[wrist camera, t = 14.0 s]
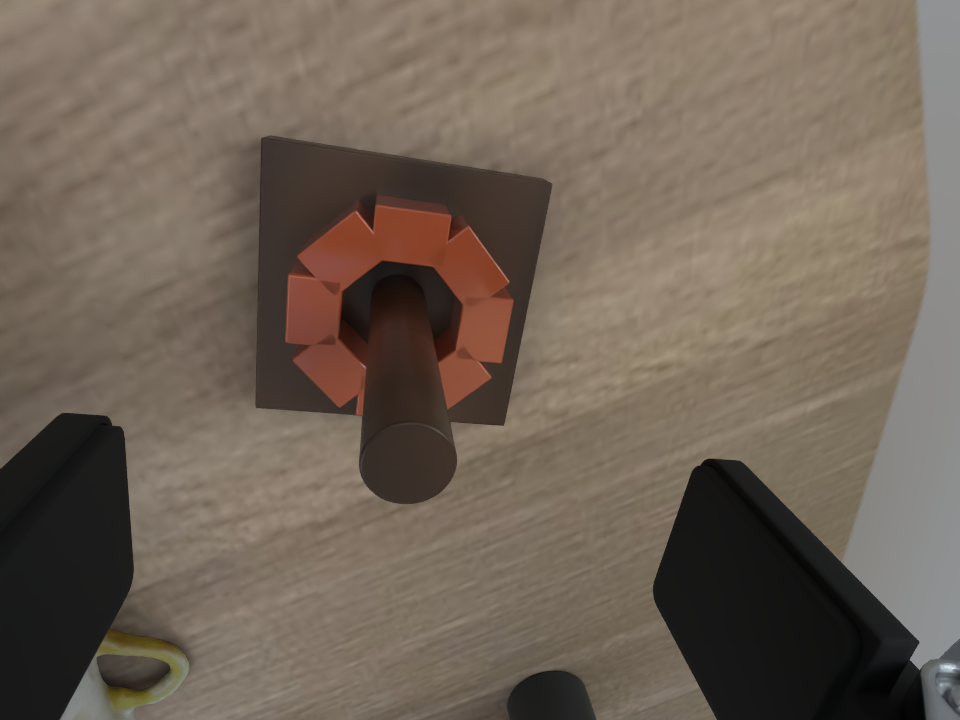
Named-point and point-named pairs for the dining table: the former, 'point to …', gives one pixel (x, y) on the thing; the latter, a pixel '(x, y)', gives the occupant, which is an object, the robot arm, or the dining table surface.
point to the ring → (402, 239)
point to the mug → (109, 710)
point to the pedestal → (550, 698)
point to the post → (392, 301)
